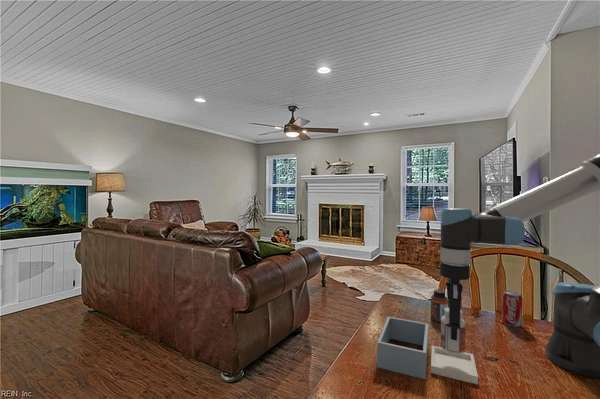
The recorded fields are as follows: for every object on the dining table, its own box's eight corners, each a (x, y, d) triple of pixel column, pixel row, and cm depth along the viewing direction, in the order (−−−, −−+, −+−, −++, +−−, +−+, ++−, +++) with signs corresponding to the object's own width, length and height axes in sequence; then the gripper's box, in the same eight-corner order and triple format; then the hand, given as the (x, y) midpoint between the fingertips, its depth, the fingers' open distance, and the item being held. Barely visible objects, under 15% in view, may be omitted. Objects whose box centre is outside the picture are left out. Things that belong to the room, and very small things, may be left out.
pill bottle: (469, 351, 82) (470, 311, 82) (457, 357, 79) (458, 316, 78) (447, 341, 87) (448, 304, 87) (435, 347, 84) (436, 308, 84)
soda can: (502, 319, 116) (502, 289, 115) (522, 323, 112) (523, 292, 112) (500, 324, 111) (501, 293, 111) (521, 329, 107) (522, 296, 107)
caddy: (427, 345, 95) (428, 323, 94) (425, 379, 77) (426, 353, 77) (387, 336, 100) (388, 316, 100) (376, 367, 82) (377, 342, 82)
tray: (472, 360, 86) (473, 354, 86) (477, 384, 75) (478, 376, 75) (431, 351, 91) (431, 345, 91) (430, 372, 80) (431, 365, 80)
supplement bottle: (427, 317, 117) (427, 289, 116) (439, 315, 118) (439, 287, 118) (438, 323, 111) (438, 294, 111) (450, 321, 113) (451, 292, 113)
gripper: (439, 255, 93) (438, 328, 93) (440, 268, 75) (437, 357, 76) (467, 258, 90) (465, 333, 90) (474, 272, 72) (471, 365, 73)
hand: (452, 344), depth 83 cm, fingers closed on pill bottle, 6 cm apart
